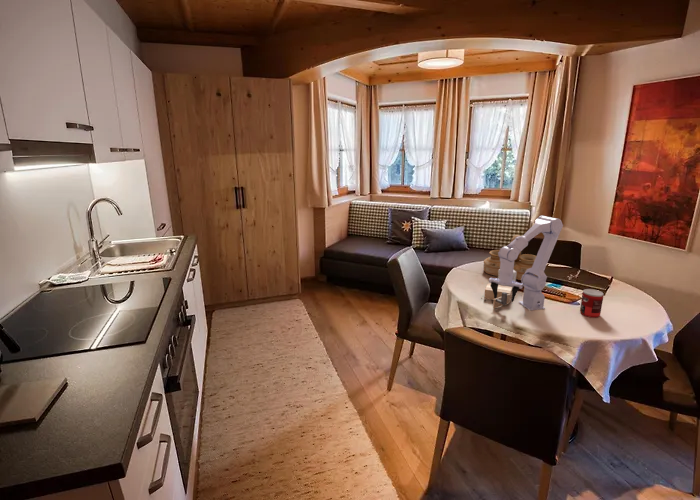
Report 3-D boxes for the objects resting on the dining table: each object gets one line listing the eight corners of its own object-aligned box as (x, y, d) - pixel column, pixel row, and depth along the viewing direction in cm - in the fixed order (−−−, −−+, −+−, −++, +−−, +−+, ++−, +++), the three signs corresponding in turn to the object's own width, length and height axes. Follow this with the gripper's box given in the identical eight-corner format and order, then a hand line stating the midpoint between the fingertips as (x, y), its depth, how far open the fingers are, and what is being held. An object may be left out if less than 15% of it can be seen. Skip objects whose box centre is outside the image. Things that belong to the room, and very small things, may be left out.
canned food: (581, 308, 173) (584, 287, 170) (601, 313, 168) (604, 291, 165) (578, 314, 167) (581, 292, 164) (599, 319, 162) (602, 296, 159)
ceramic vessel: (478, 274, 222) (480, 235, 215) (488, 266, 236) (491, 228, 229) (538, 286, 201) (543, 242, 194) (546, 276, 215) (551, 235, 208)
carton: (511, 295, 190) (512, 286, 188) (509, 302, 182) (510, 293, 181) (487, 292, 196) (488, 283, 194) (484, 298, 188) (484, 289, 187)
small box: (511, 286, 202) (513, 268, 199) (515, 290, 196) (517, 272, 193) (496, 286, 203) (498, 268, 200) (499, 290, 197) (501, 272, 194)
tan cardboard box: (509, 302, 182) (510, 285, 179) (519, 306, 177) (521, 288, 175) (493, 308, 176) (494, 290, 174) (503, 312, 171) (504, 294, 169)
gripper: (487, 272, 169) (485, 298, 173) (521, 277, 160) (518, 305, 164) (492, 267, 174) (490, 293, 178) (524, 273, 166) (521, 300, 170)
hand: (503, 299), depth 172 cm, fingers open, 7 cm apart
